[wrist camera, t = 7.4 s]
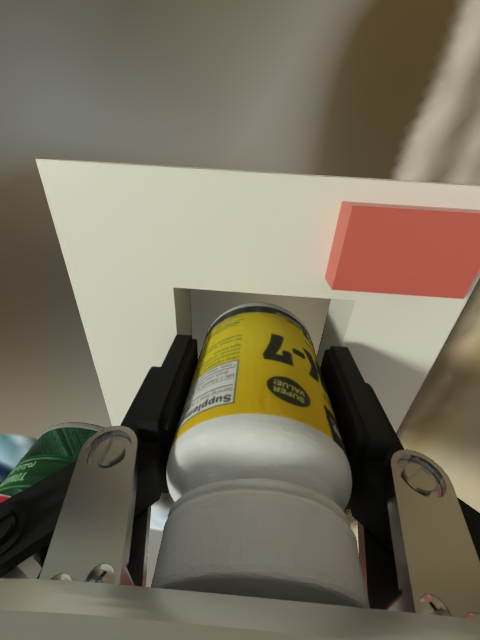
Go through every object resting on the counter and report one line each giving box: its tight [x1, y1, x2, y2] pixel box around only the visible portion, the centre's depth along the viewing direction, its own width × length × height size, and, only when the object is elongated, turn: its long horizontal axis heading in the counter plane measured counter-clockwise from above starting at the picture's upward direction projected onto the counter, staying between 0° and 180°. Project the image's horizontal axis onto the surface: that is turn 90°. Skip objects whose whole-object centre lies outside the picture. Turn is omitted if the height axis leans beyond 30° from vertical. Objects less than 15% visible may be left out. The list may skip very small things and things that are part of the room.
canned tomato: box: [0, 422, 105, 503], centre depth 15 cm, size 8×8×11 cm
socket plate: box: [36, 159, 480, 433], centre depth 12 cm, size 14×14×4 cm
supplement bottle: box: [151, 303, 370, 608], centre depth 8 cm, size 5×5×8 cm
